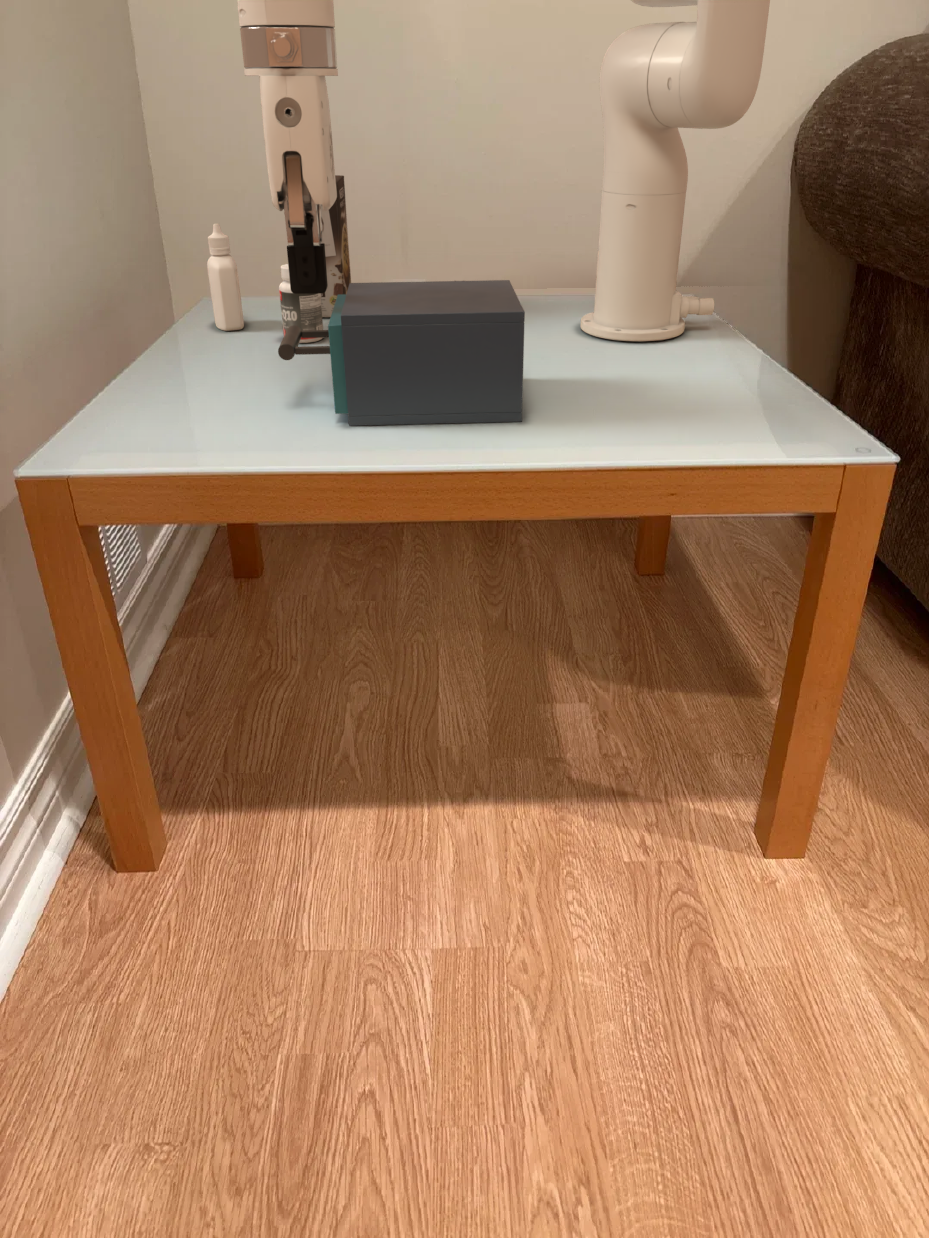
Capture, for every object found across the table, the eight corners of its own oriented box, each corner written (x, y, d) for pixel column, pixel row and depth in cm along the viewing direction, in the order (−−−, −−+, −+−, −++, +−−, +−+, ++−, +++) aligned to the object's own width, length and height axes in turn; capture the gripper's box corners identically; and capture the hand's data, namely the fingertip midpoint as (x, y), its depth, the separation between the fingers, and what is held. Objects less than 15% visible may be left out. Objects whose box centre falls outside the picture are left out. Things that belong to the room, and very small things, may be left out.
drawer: (280, 415, 83) (270, 326, 79) (294, 375, 94) (286, 295, 90) (495, 410, 84) (496, 322, 80) (485, 371, 95) (485, 291, 91)
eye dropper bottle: (253, 321, 118) (241, 220, 112) (239, 332, 113) (226, 227, 107) (220, 320, 118) (206, 220, 112) (205, 331, 114) (190, 227, 108)
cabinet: (348, 426, 83) (340, 315, 78) (356, 381, 95) (349, 282, 90) (521, 421, 84) (524, 311, 79) (507, 378, 96) (509, 280, 91)
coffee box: (346, 318, 119) (336, 181, 111) (296, 318, 119) (283, 181, 111) (354, 303, 127) (345, 174, 119) (307, 303, 127) (296, 174, 119)
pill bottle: (277, 338, 111) (269, 265, 106) (311, 332, 113) (305, 260, 109) (296, 346, 107) (288, 271, 103) (331, 339, 110) (325, 266, 106)
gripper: (329, 54, 68) (346, 309, 77) (342, 57, 81) (355, 276, 90) (227, 54, 68) (256, 310, 77) (256, 57, 80) (278, 276, 90)
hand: (309, 291), depth 84 cm, fingers closed
